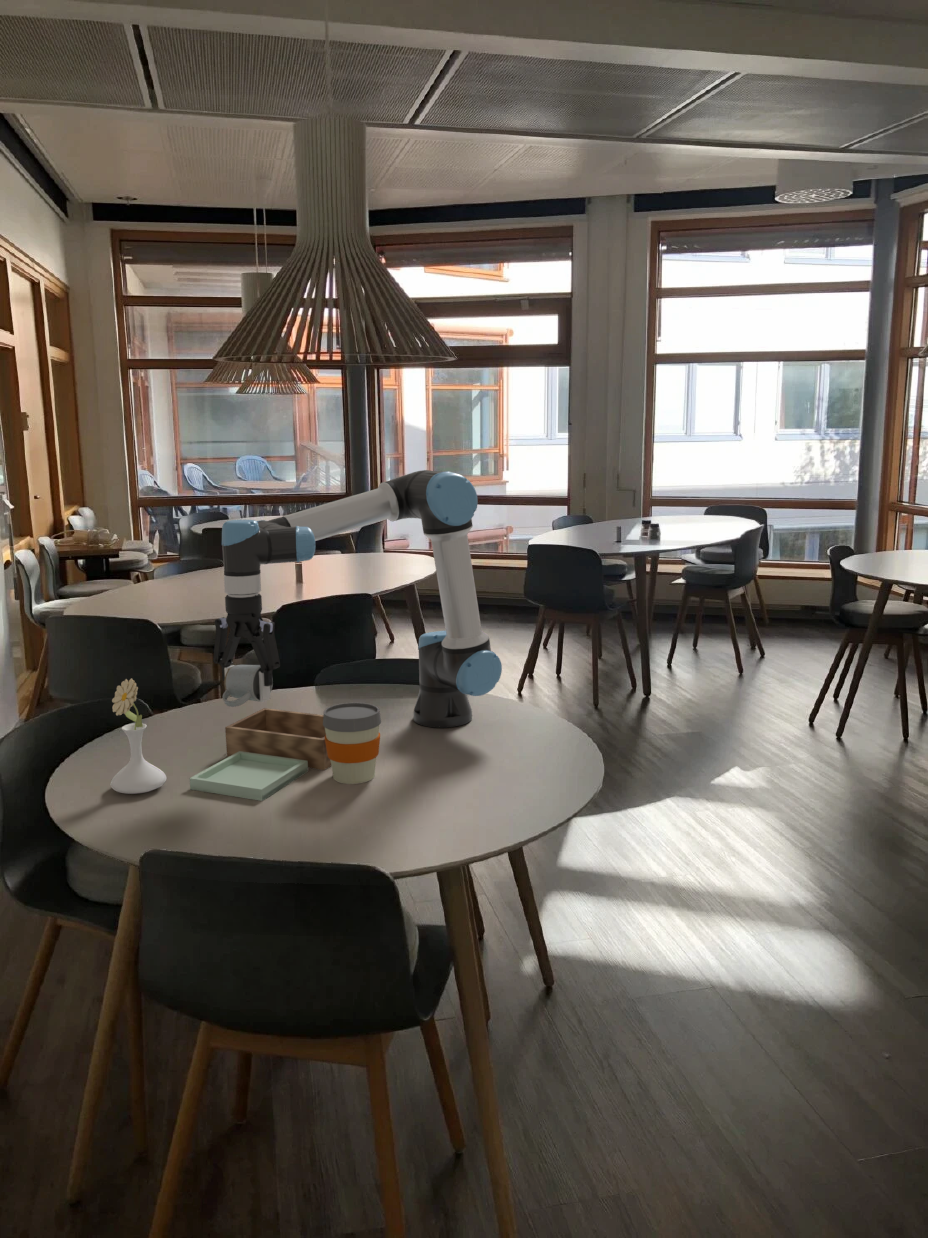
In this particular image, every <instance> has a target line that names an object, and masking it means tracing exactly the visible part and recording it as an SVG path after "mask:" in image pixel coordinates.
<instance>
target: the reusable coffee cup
mask: <svg viewBox="0 0 928 1238" xmlns="http://www.w3.org/2000/svg"><path fill="white" fill-rule="evenodd" d="M322 715H323V726H324V727H325V732H326V735H325V743H326V749H327V754H328V758H329V759H330V760H331V766H330V767H331V771H332V776H333V777H332V778H333V780H334V781H335V782H338V783H340V784H346V785H357V784H365V783H367V782H370V781H372V780H373V779H374V777H375V773H376V763H377V757H378V756H379V751H380V743H381V742H380V741H381V733H380V725H381V724H382V719H381V718H382V717H381V711H380V708H379V707H378V706H377V705H376V704H375V705H374V704H372V703H368V702H344V703H338V704H333V705H331V706H328V707H326V708H325V709H324V710H323V714H322Z"/></svg>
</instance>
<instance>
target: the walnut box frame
mask: <svg viewBox="0 0 928 1238" xmlns="http://www.w3.org/2000/svg"><path fill="white" fill-rule="evenodd" d="M323 715H324V714H317V713H310V712H309V713H307V712H300V711H292V710H283V709H276V708H275V709H274V708H267V707H264V708H262V709H261V708H260V710H257V711H255V712H254V713H252V714H250V715H247V716H245V717H243V718H241V719H239V720H237V721H235V722H233V723H231V724H229V725H227V726H225V728H224V732H225V744H226V745H225V746H226V757H230V756H231V755H233V754H235V753H237V752H239V751H242V752H249V753H256V754H263V755H270V756H277V757H284V758H292V759H299V760H306V761H308V769H313V770H314V769H315V770H320V771H325V770H327V769H328V768H330V767H332V766H331V760H330V759H329V758H328V754H327V749H326V743H325V735H326V732H325V727H324V726H323Z"/></svg>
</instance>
